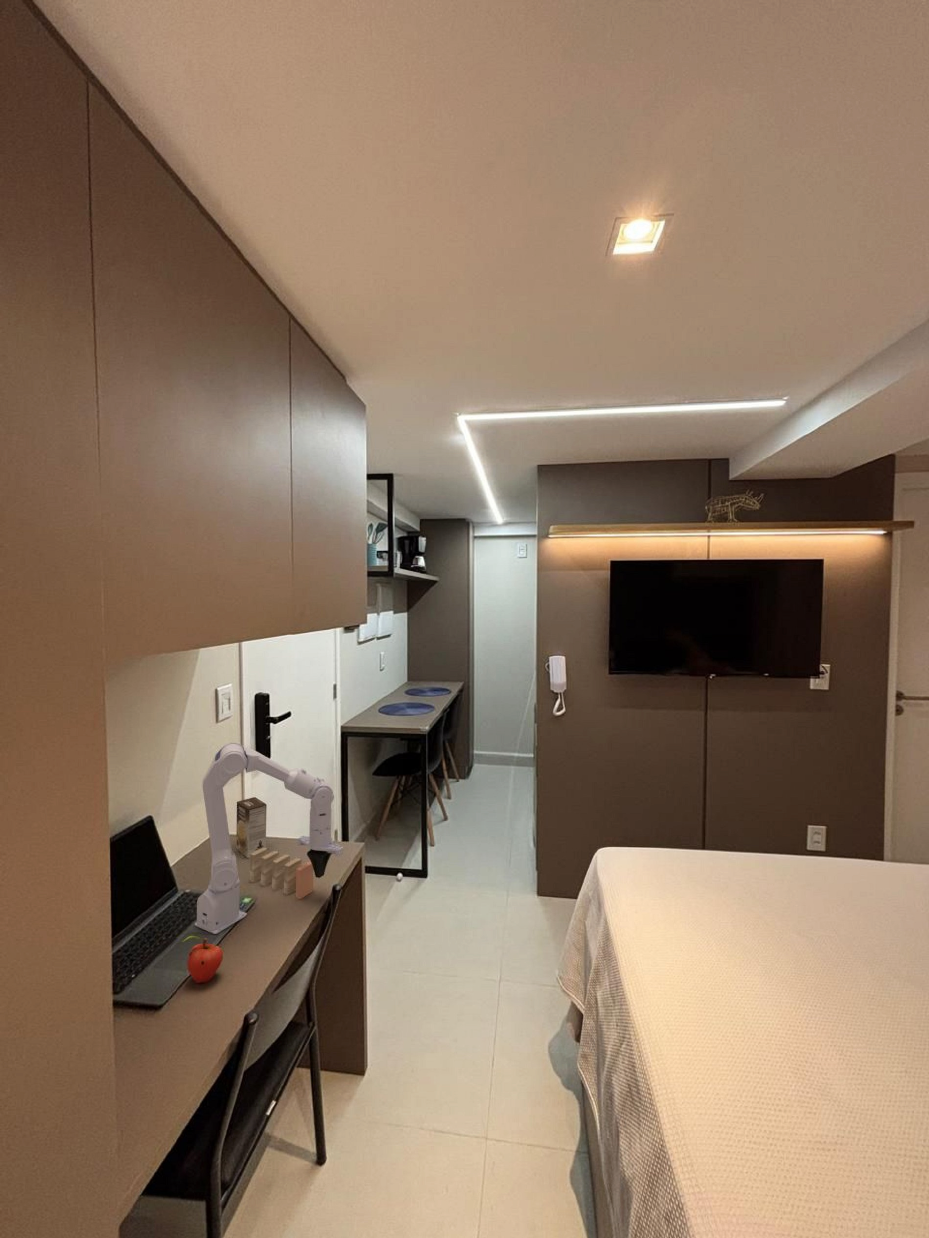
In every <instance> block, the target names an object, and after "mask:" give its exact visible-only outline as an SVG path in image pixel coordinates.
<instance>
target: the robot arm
mask: <svg viewBox="0 0 929 1238" xmlns="http://www.w3.org/2000/svg"><path fill="white" fill-rule="evenodd" d="M244 771H245V773H246V774H248V773H251V772H255V771H259V772H261V773H264V774H266V775H268V776H270V777H272V778H274V779H276V780H279V781H281V782H283V784H284V788H285V789H286V790H288V791H290V792H292V793H294V794H295V795H298V796H300V797H302V798H304V799H306V800H307V799H308V800H310V809H309V835H308V836H305V835H302V836H299V837H298V838H297V845H298V846H305V847H307V848H308V849H309V850H308V851H307V852H306V855H307V858H308V859H309V862H311V863H312V866H313V874H314V877H315V878H318V879H320V878H322V877H324V876H325V872H326V869H327V865H328V863H329V861H330V858H331V856H332V855H335V857H337V858H339V857H340V856H342V855H343V854H344V847H343V846H341V845H339V844H337V843H336V842H335V841H333V837H332V803H333V801H334V798H335V794H334V792H333V789H332V787H331V786H330V785H329V783H328V782H327V781H325V779H322V778H320V777H319V776H317V777H315V776H313V775H311V774H309V773H307V770H306V769H305V768H301V769H299V768H293V769H288V768H286V767H284V766H283V765H281V764H279V763H278V762H276V761H275V760H273V759H271V758H269V757H267V756H265V755H263V754H262V753H260V752H259V751H257V750H254V749H252V748H250V747H248V746H243V745H241V743H238V742H229V743H226V744H224V745H223V746H222V747H221V748H220V749H219V750H218V751H217V752H216V753H215V754H214V756H213V760H212V761H211V764H210V765H209V767H208V769H207V771H206V773H205V775H204V776H203V778H202V792H203V798H204V805H205V806H204V808H205V814H206V820H207V821H206V822H207V827H208V835H209V841H210V842H209V843H210V849H211V862H210V872H211V873H210V875H211V876H210V881H209V883H208V887H207V889H206V890H205V891H204V893H202V894H201V895H200V896H198V898H197V902H196V922H194V926H195V927H197V928H200V929H202V930H204V931H207V932H209V933H211V934H213V935H217V934H219V933H220V932H222V931H224V930H225V929H227V928H229V927H230V926H232V925H234V924H235V923H237V922H238V921H240V920H242V919H243V918H245V917H247V915H248V914H247V912H244V911H241V910H240V878H239V871H238V858H237V856H236V854H235V853H234V852H233V850H232V845H231V838H230V837H231V836H230V832H229V831H230V829H229V822H228V817H227V816H228V815H227V808H226V802H225V794H224V793H225V792H224V787H225V786H226V785H227V784H228V783H229V781H231V779H234V778H235V777H237V776H238V775H240V774H241V773H243V772H244Z"/></svg>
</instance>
